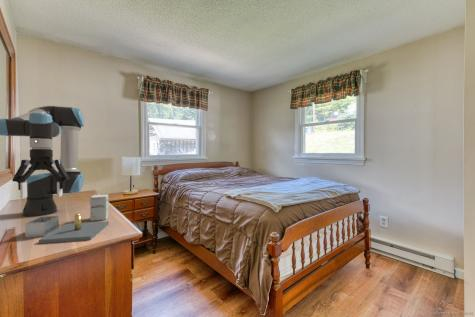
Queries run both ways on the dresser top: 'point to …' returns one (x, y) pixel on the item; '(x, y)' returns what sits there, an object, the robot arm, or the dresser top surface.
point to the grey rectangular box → (41, 226)
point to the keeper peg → (77, 221)
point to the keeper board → (74, 232)
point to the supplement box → (98, 207)
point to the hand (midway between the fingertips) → (42, 196)
